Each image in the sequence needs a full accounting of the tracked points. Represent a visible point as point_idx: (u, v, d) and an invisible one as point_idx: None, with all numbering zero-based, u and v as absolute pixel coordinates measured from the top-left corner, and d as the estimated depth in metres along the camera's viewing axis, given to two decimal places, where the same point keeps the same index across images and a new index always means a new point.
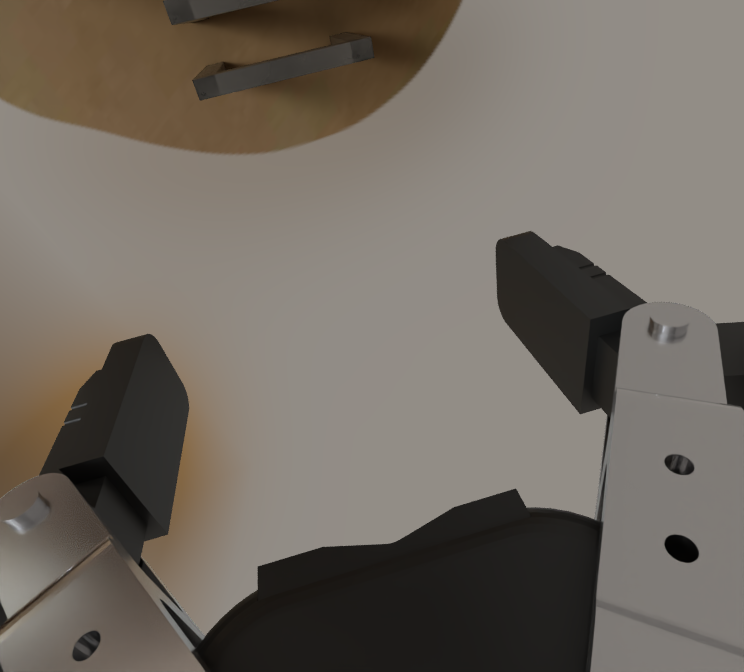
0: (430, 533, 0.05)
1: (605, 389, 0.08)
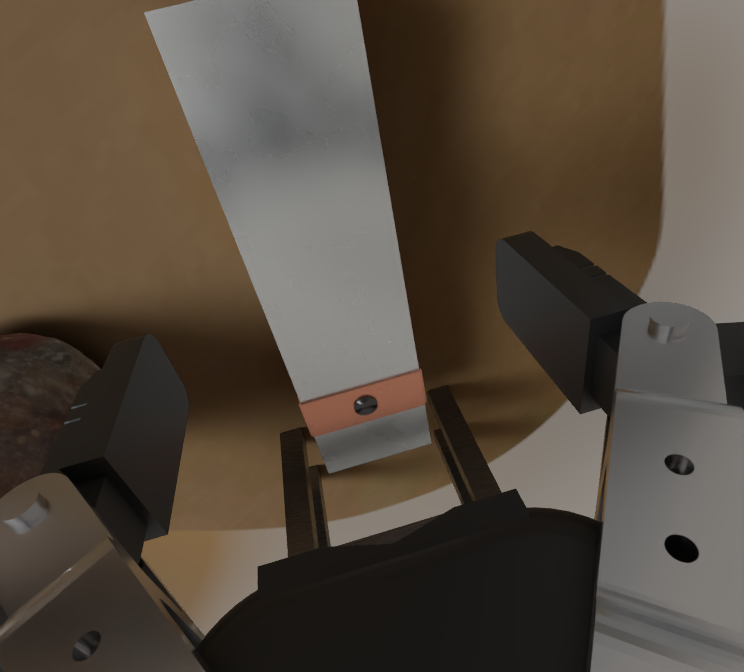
0: (430, 532, 0.05)
1: (605, 389, 0.08)
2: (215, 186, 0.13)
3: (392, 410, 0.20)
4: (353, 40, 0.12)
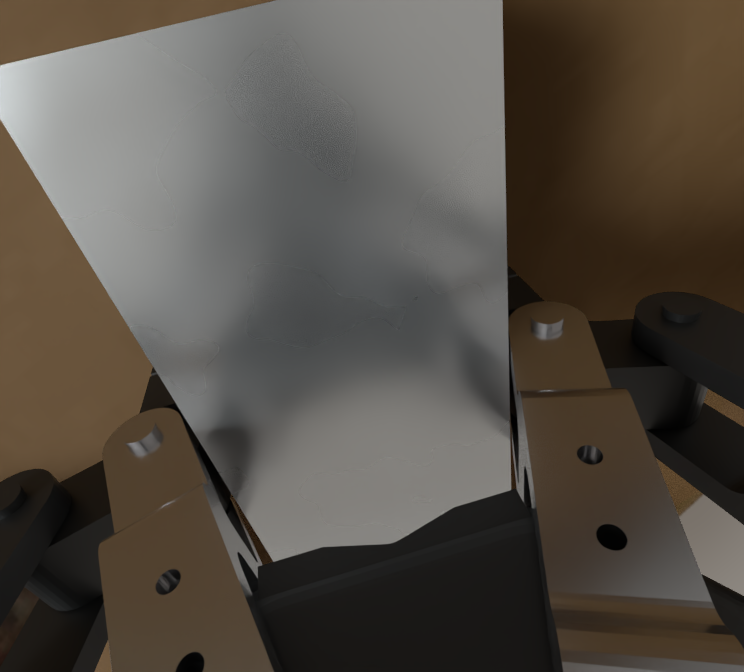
0: (431, 533, 0.05)
1: None
2: (178, 401, 0.07)
3: None
4: (482, 123, 0.05)
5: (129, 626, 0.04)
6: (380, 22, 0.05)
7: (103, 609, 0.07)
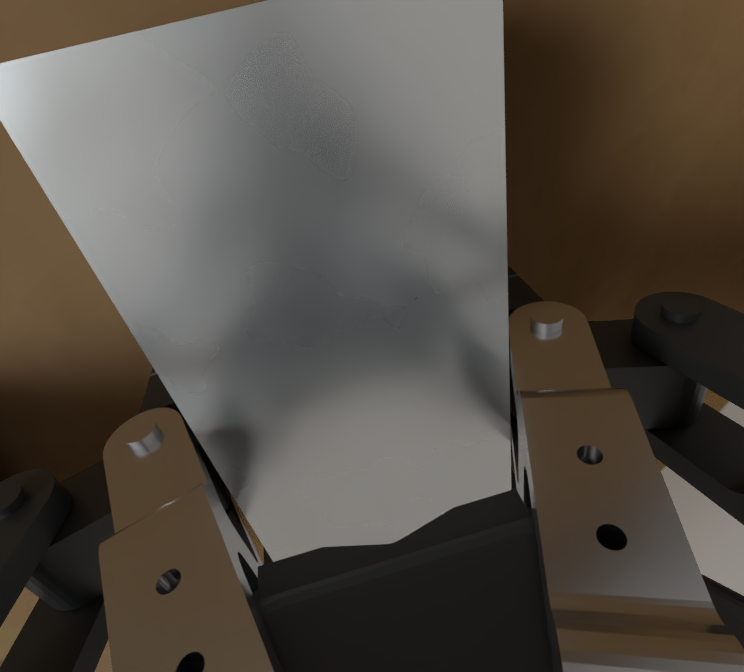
0: (431, 533, 0.05)
1: None
2: (177, 401, 0.07)
3: None
4: (482, 122, 0.05)
5: (129, 626, 0.04)
6: (379, 20, 0.05)
7: (103, 609, 0.07)
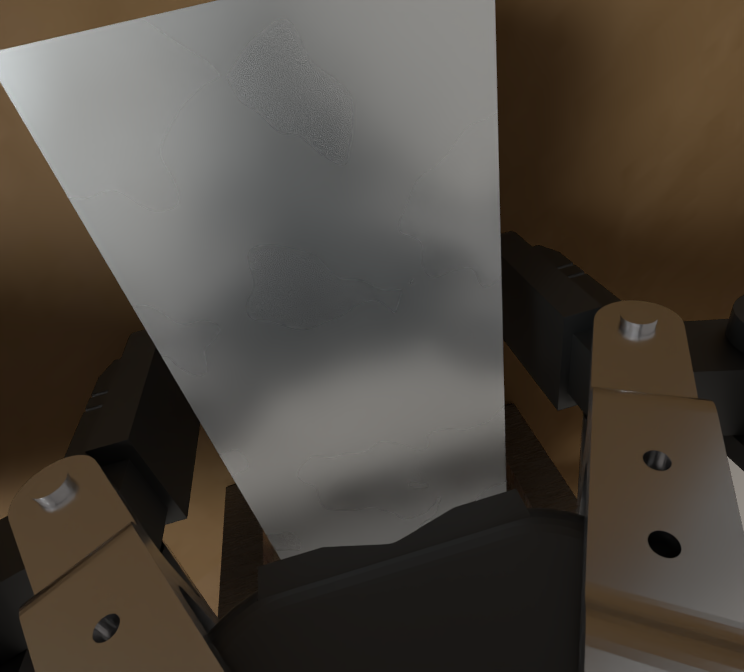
0: (431, 533, 0.05)
1: (580, 386, 0.08)
2: (180, 382, 0.07)
3: None
4: (476, 109, 0.06)
5: None
6: (376, 9, 0.05)
7: (25, 663, 0.07)
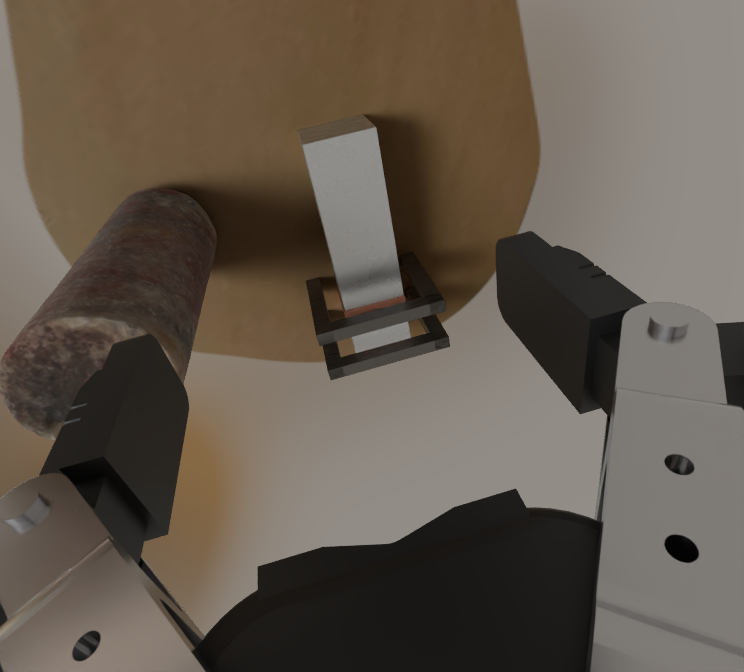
0: (431, 532, 0.05)
1: (605, 389, 0.08)
2: (318, 206, 0.33)
3: None
4: (376, 151, 0.32)
5: None
6: (358, 137, 0.31)
7: None
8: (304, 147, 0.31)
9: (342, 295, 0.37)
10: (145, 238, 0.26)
